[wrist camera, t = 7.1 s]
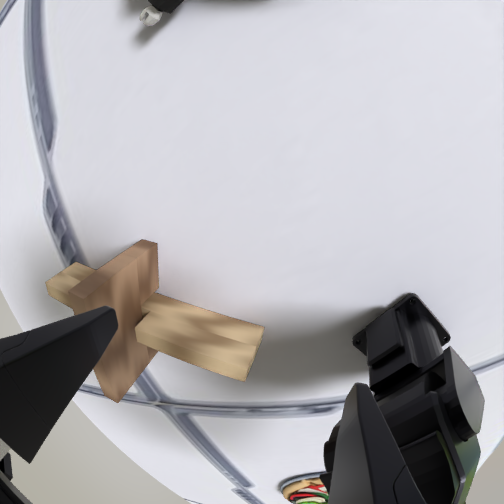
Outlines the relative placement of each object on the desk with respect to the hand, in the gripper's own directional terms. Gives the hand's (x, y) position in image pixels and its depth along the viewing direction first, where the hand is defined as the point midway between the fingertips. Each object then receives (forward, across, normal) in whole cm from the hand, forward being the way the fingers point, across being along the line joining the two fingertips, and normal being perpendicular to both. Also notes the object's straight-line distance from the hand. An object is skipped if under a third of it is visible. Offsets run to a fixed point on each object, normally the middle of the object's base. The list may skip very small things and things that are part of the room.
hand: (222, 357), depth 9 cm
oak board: (+12, +11, +9) cm, 19 cm away
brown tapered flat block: (+12, +11, +9) cm, 19 cm away
